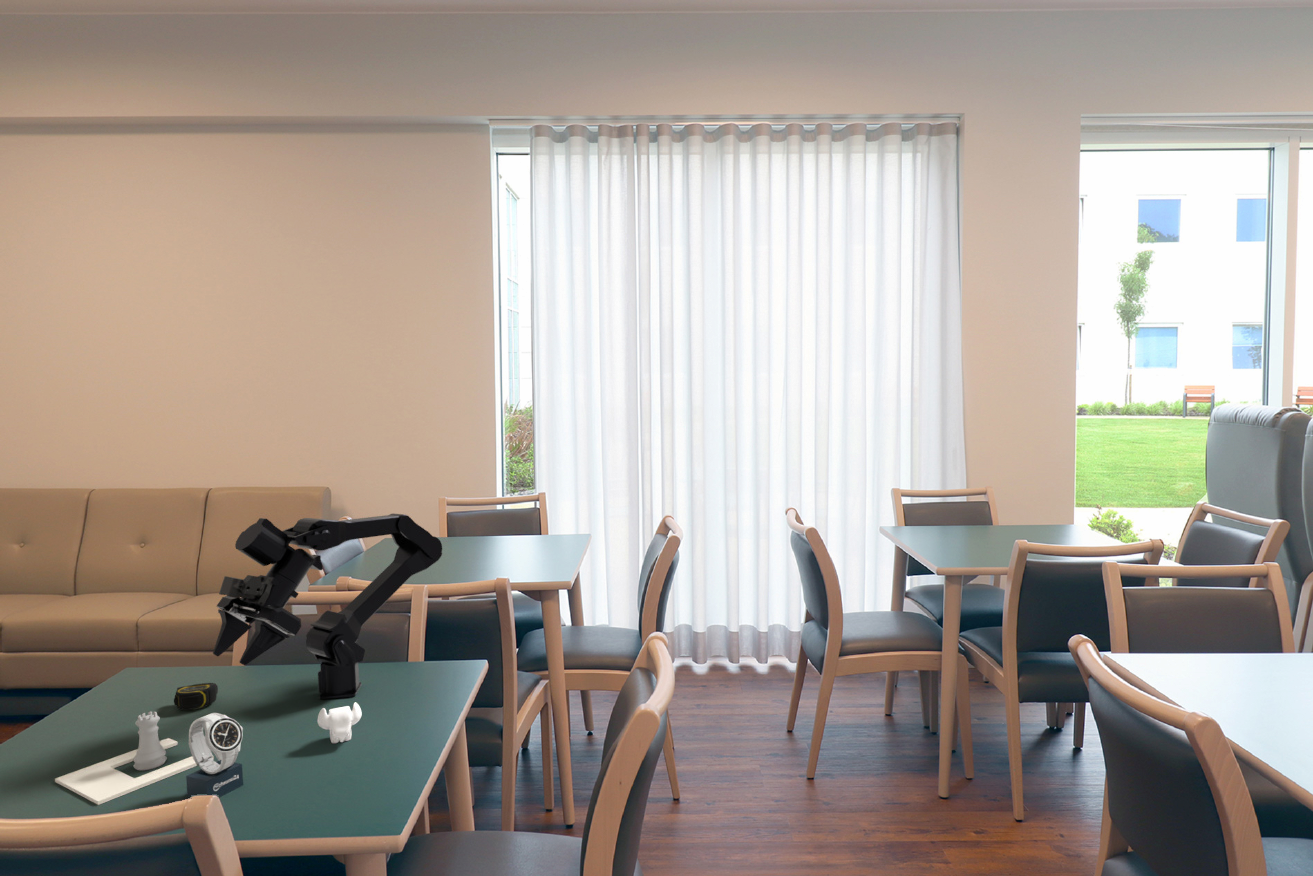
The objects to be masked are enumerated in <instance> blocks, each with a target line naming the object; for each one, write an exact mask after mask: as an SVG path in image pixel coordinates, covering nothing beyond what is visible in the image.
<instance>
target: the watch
mask: <svg viewBox="0 0 1313 876" xmlns="http://www.w3.org/2000/svg"><path fill="white" fill-rule="evenodd" d="M243 733H244V728H243V726H241V725H240V723H239V722H238V721H237V720H235V719H234V718H231V717H229V716H227V714H222V713H220V712H219V713H218V712H211V713H209V714H207V715H204V716H201V717H199V718H196V719H195V720H193V722H192V723H191V724H190V726H189V730H188V747H189V751H190V753H191V756H193V760H194V761H195V763H196V765H197V766H196V767H199V769H198V770H196V771H194V772H192V773H189V774H187V775H186V776H185V777H186V792H187V793H186V794H187V798H188V797H191V795H197V794H207V795H212V794H217V795H219V798H220V797H222V796H224V795H226V794H228V793H230V792H232V791H234V790H237V789H238V788H240V787H242V786H244V773H243V764H242V763H239V762H236V761H237V757H238V755H239V752H240V751H241V745H242V744H241V743H242V741H243V738H244V737H243ZM213 754H214V755H213ZM213 756H214V757H216V759H217V761H215V760H214V759H212V757H213Z"/></svg>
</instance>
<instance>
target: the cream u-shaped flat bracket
mask: <svg viewBox="0 0 1313 876" xmlns="http://www.w3.org/2000/svg"><path fill="white" fill-rule="evenodd" d="M159 742H160V745H162V748H163V749H165V750H167V749H169V748H172V747H175V746H178V743H179V742H178V741H176V740H174V739H171V738H169V737H167V738H164V739H161V740H159ZM137 751H138V748H137V749H134V750H130V751H127V752H126V753H122V754H119V755H117V756H114V757H112V758H111V757H110V758H109V759H106V760H104V761H103V760H102V761H100V762H97V763H94V764H92V765H88V766H87V767H83V768H81V769H78V770H75V771H72V772H69V773H67V774H65V775H64V774H63V775H62V776H59V777H56V778H54V783H56V784H58V785H59V786H62V787H64V788H66V789H68V790H70V791H71V792H73V793H75V794H77V795H79V796H81V797H83V798H85V799H86V800H88V801H90V802H91V803H94V804H95V805H97V806H100V805H102V804H104V803H106V802H109V801H112V800H114V799H117V798H119V797H121V796H124V795H127V794H130V793H132V792H134V791H136V790H139V789H142V788H144V787H146V786H149V785H153V784H154V783H156V782H160V781H162V780H164V779H166V778H170V777H172V776H174V775H177V774H179V773H182V772H185V771H187V770H189V769H192V768H195V767H198V766H197V765H196V763H195V761H194V760H193V756H192V755H191V756H189V757H186V758H184V759H181V760H179V761H176V762H173V763H171V764H169V765H166V766H163V767H161V768H159V769H158V768H157V769H156V770H155V769H154V770H153V771H150V772H148V773H145V774H142V775H139V776H137V777H132V776H130V775H128V774H126V773H124V772H122V771H120V770H118V769H115V768H118V767H121V766H123V765H127V764H130V763H131V762H134V760H133V759H134V757H135V755H136V754H137V753H136V752H137ZM214 757H215V755H213V757H212V759H213V760H214V759H215V758H214Z"/></svg>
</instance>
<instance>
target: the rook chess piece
mask: <svg viewBox="0 0 1313 876" xmlns="http://www.w3.org/2000/svg"><path fill="white" fill-rule="evenodd" d="M160 719H161V718H160V716H159V715H158V713H157V711H148V712H147V715H146V712H143V713H141V714H139V715H137V720H136V721H135V722H134V724H135V725H136V727H138V731H137V734H138V737H139V738H138V739H139V740H138V747H137V749H138V751H137V752H136V753H137V754H136V755H135V757H134V759H133V760H134V761H133V762H134V764H133V769H135V770H137V771H138V772H140V771H141V772H144V771H150V770H155V769H156V768H157V769H158V768H159V767H161V766H162V765H165V763H166V761H167V759H168V758H167V756H166V754H167V751H166V749H163V748H162V745H160V742H159V741H160V737H159V734H158V733H159V731H158V730H159V729H160V727H159V726H158V722H159V721H160Z"/></svg>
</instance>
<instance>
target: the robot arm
mask: <svg viewBox="0 0 1313 876" xmlns="http://www.w3.org/2000/svg"><path fill="white" fill-rule="evenodd" d="M387 535H390V536H391V537H392V540H393V543H394V544H396V546H397V547H398V548H397V549H396V551H395V555H394V558H393V561H392V562H391V563H390V564H389V565H387V567H386V568H385V569H384V570H383V571H381V572H380V573H379V574H378V575H377V576H376V578H374V579H373V580H372V581H371V582H370V583H369V584H368V585H367V586H366V587H365V588H364V589H363V590H362V591H361V592H360V593H359V594H358V595H357V596H356V597H355V598H354V599H353V600H351V601H350V602H349V604H348V605H347V606H346V607H344V608H343V609H342V610H341V611H339V612H337V611H331V610H326V611H325V612H323V613H322V615H321V616H320V617H319V618H318V619H317V620H316V621H315V622H313V623H311V624H310V629H309V630H308V631H307V633H306V635H305V637H306V639H305V645H306V648H307V650H308V651H309V652H310V653H312V654H313V656H314V660H316V661H318V662H321V663H320V669H319V671H318V672H317V681H318V686H317V687H318V693H319V694H320V695H319V697H318V698H319V700H328V699H338V698H348V697H350V698H351V697H355V696H356V695H357V694H358V692H359V691H360V688H361V687H362V682H361V681H360V672H359V671H360V670H359V663H361V662H363V660H364V657H365V653H366V650H365V649H364V648H363V647H362V646H360V645H359V644H358V643H357V641H358V639H359V636H360V634H361V633H360V632H361V630H362V627H363V626H364V625H365V623H366V622H368V620H369V619H370V618H371V617H372V616H373V615H374V614H375V613H377V611H378V610H380V608H381V607H382V606H384V605H385V604H386V602H387V601H388V600H389V599H390V598H391V597H393V595H394V594H395V593H396V592H397V591H398V590H399V589H400V588H402V586H403V585H404V584H405V583H406V582H407V581H408V580H409V579H410V578H411V577H412V576H414V575H417V574H418V573H421V572H423V571H425V570H427V569H429V568H430V567H432V566H433V565H434V564H436V563H438V562H439V561H440V559H441V558H442V556H443V544H442V541H441V540H440V539H439V538H438V537H436V536H433V535H432V534H431V533H430V532H429V531H427V530H426V529H425V528H424V527H422V526H421V525H419V524H418V523H416V522H415V520H413V519H412V518H411V517H410V516H409V515H408V514H401V513H390V514H386V515H379V516H378V515H377V516H371V517H369V516H368V517H360V518H353V519H344V520H343V519H341V520H339V519H338V520H337V519H328V518H326V519H325V518H313V517H304V518H303V517H302V518H300V519H298V520H297V522H296V523H295V525H293V526H292V527H290V528H286V529H283V530H281V529H280V528H278V526H275V524H273V522H271V521H270V520H269V519H268V518H263V517H260V518H259V519H258V520H257V521H256V522H255V523H253V524H252V525H249V526H248V527H247V528H245V530H244V531H241V533H239V536H238V537H237V538H236V540H235V545H234V547H235V549H236V550H237V551H239V552H240V553H242V554H243V555H245V556H247V557H248V558H250V559H252V561H253V562H255V563H257V564H259V565H260V566H262V567H267V566H269V565H272V566H271V567H270V569H269V570H268V572H267V573H266V574H265V575H263V574H262V575H261V574H260V575H257V576H256V575H250V574H248V575H246V576H245V577H244V579H242V578H236V577H232V576H226V575H224V577H223V580H222V584H221V586H220V589H219V593H218V594H219V595H223V597H221V599H220V601H218V603H217V604H216V607H217V608H218V610H217V612H218V613H217V614H219V615H220V619H221V626H220V630H219V633H218V635H217V639H216V642H215V645H214V648H213V651H212V654H213V655H214V656H216V657H220V656H222V654H223V653H225V652H226V651H227V650H228V649H229V648H230V647H231V646H233V645H234V644H235V643H236V642H237V641H238V640H239V639H240V638H242V636H244V634H245V633H247V632H248V631H249V630H250V629H251V628H252V627H253V626H252V625H251V624H252V623H254V629H255V632H254V633H253V635H252V637H251V639H250V641H249V642H248V643H247V644H248V645H246V648H245V649H244V652H243V653H242V655H241V658H240V660H239V664H240V665H243V666H246V665H247V664H249V663H251V662H252V661H254V660H255V659H256V658H258V657H259V656H261V655H262V654H264V653H265V652H267V651H269V650H270V649H271V648H273V647H274V646H276V645H278V644H279V643H281V642H282V641H284V640H288V639H289V638H290V635H291V636H295V637H296V636H297V634H298V632H299V631H300V629H301V628H302V620H301V618H300V617H298V616H297V615H295V614H294V613H292V612H290V611H289V610H287V609H286V608H285V607H286V605H287V603H288V602H289V601H290V599H291V598H292V599H297V597H298V595H299V594H300V593H299V592H297V591H296V590H297V589H298V587H299V586H300V584H301V582H302V581H303V579H304V578H305V576H306V575H307V574H308V572H309V570H310V569H311V570H316V571H323V570H324V566H323V563H322V560H321V558H322V557H321V554H320V555H319V554H310V553H309V552H307V551H306V549H307V550H313V551H326V550H329V549H332V548H335V547H338V546H340V545H341V544H344V543H345V542H349V541H351V540H352V541H353V540H358V539H359V540H360V539H365V538H366V539H367V538H374V537H375V538H376V537H382V536H387ZM291 545H296V546H297V547H298V548H294V547H292V546H291Z"/></svg>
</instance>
